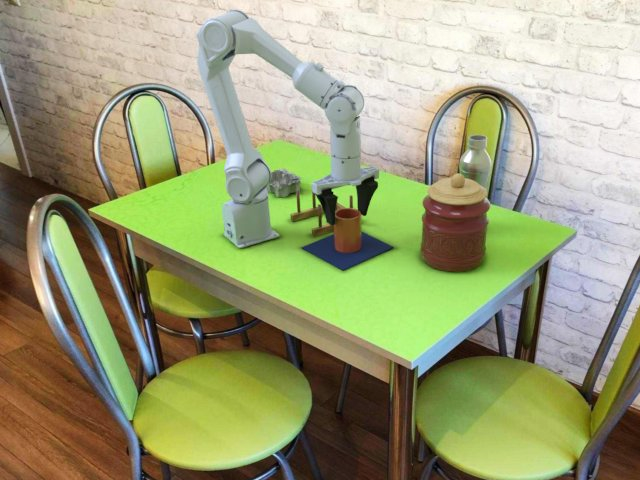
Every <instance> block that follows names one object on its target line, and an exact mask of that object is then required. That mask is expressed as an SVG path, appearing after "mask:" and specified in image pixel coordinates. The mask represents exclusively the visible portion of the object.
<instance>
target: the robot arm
mask: <svg viewBox="0 0 640 480" xmlns="http://www.w3.org/2000/svg"><path fill="white" fill-rule="evenodd" d="M196 39H197V41H198V42H197V43H198V51H197V63H196V64H197V69H198V72H199V75H200V78H201V81H202V83H203V87H204V90H205V93H206V96H207V99H208V102H209V105H210V108H211V111H212V114H213V117H214V120H215V124H216V126H217V129H218V132H219V134H220V138H221V141H222V144H223V147H224V150H225V154H226V159H225V164H224V167H223V172H224V175H225V190H226V192H227V194H228V196H229V197H230V200H228V201H225V202H224V203H222V205H221V214H222V215H221V216H222V222H223V230H224V232H223V236H224V237H226V238H227V239H228V240H229V241H230V242H231V243H233V245H235V246H236V247H237V248H239V249H243V248H247V247H249V246H254V245H256V244H260V243H262V242H267V241H270V240H273V239H277V238H279V237H280V234H279V233H278V232H276V231H275V230H274V229H273V228H272V225H271V213H270V203H269V192H268V189H267V185H268V184H269V183H270V181H271V177H272V174H271V172H272V170H271V167H270V166H269V164H268V163H267V162H266V161H265V159H264V157H263V154H262V152H261V151H260V150H258V149H257V148H256V147H254V144H253V142H252V139H251V136H250V134H249V133H250V132H249V129H248V126H247V123H246V119H245V117H244V113H243V110H242V107H241V104H240V100H239V98H238V97H239V96H238V94H237V90H236V88H235V85H234V81H233V78H232V74H231V72H230V65H231V64H232V62H233V61H234V58H235V57H236V55H256V56H258V57H259V58H261V59H262V60H264V61H265V62H267V63H269V64H270V65H272V66H273V67H274V68H276V69H277V70H279V71H280V72H282V73H283V74H285V75H286V76H288V77H290V78H291V80H292V83H293V87H294V89H295V90H297V92H299V93H300V94H302V95H303V96H305V97H306V98H307V99H309V100H310V101H311V102H312V103H314V104H315V105H317V106H318V107H319V108H320V109H322V110H323V111H324V114H325V117H326V120H328V122H329V125H330V127H329V129H330V130H329V132H330V133H329V135H330V139H329V141H330V173H329V174H327V175H326V176H324V177H322V178H319V179H317V180H315V181H312V182H311V193H312V192H314V193H315V197H316V199H317V200H318V202H319V204H320V205H321V206H322V208H323V211H324V213H323V214H324V217H325V221H326V223H327V224H330V225H331V226H333V225H335V221H336V219H335V209H336V203H338V199H339V196H337V195H336V194H334V191H333V190H335V189H339V188H342V187H347V186H352V187H355V189H356V197H357V199H356V201H357V210H359V211H360V212H361V216H362V217H366V216H367V214H368V210H369V207H370V204H371V201H372V199H373V196H374V194H375V193H376V191H377V189H378V188H379V182H378V181H377V179H380V169H379V168H378V167H376V166H372V165H371V166H368V167H362V158H361V157H362V156H361V155H362V139H361V137H362V135H361V133H362V131H361V116H360V114H361V113H362V111H363V110H364V107H365V98H364V94H362V92H361V91H360V89H358V88H357V87H356V85H353V84H346V83H345V82H344V81H343V80H338V79H337V78H335V77H334V76H333V75H331V74H330V73H328V72H327V71H326V70H324V68H325V65H323V64H322V63H321V62H317V63H315V62H314V61H313V60H311V61H306V62H303V61H302V60H300V59H299V58H298V57H297V56H296V55H295V54H294V53H292V52H291V51H290V50H289V49H287V47H285V46H284V45H283V44H281V42H280V41H278V40H277V39H275V38H274V37H273V36H272V35H271V34H269V33H268V32H267V31H266V30H265V29H264V28H263V26H261V24H260V23H259V22H258V21H257V20H256V19H255V18H253V17H250V16H249V15H248V14H247V13H246V12H244V11H242V10H241V9H230V10H229V11H226V13H223V14H220V15H217V16H215V17H210V18H208V19H206V20H204V22H203V24H202V25H201V27H200V29H198V32H197V33H196Z"/></svg>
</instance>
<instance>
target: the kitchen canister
mask: <svg viewBox="0 0 640 480" xmlns="http://www.w3.org/2000/svg"><path fill="white" fill-rule="evenodd" d="M486 189H487V188H486ZM486 189H485V188H484V187H482V186H481V185H479V184H478V183H477V182H475V181H473V180H470V179H466V178H464V176H463V175H462V174H460V173H454V174H453V175H452V176H451V177H446V178H442V179H439V180H437V181H436V182H433V184H431V185H429V187H428V188H427V191H426V192H427V195H425V197H424V198H422V207H423V209H424V212H423V213H422V215H421V222H422V224H421V225H422V226H421V243H420V254H421V255H420V256H421V258H422V261H423V262H424V263H426V264H427V265H428V266H430V267H431V268H434V269H436V270H440V271H445V272H466V271H470V270H473V269H475V268H477V267H479V266H481V264H483V262H484V259H485V257H486V253H487V252H486V251H487V246H486V245H487V244H486V243H487V234H488V226H489V223H490V219H489V217H488V212H489V211H490V209H491V201H490V200H489V199H488V198H487V197H488V191H487V190H486Z"/></svg>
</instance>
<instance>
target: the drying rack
mask: <svg viewBox="0 0 640 480" xmlns="http://www.w3.org/2000/svg"><path fill="white" fill-rule="evenodd" d="M295 194H296V196H295V197H296V212H294V213H290V215H289V218H290V221H291V222H296V221H301V220H304V219H308V218H312V217H314V216H317V218H318V219H317V220H318V226H317V227H314V228H311V229H310V230H311V236H312V237H314V238H315V237H318V236H321V235H324V234H327V233H332V232H334V225H333V226H331V225H330V224H328V223H327V224H324V225H323V217H322V216H323V215H322V214H324V211H323V208H322V206H321V204H320V203H319V204H317V203H316V202H317V200H316V199H317V197H316V195H315V193H314V192H312V191H311V197H312V198H311V199H312V200H311V201H312V207H311V208H308V209H304V210H301V199H300V198H301V195H300V194H301V193H300V192H299V191H298V190H297V191H296V193H295ZM348 198H349V199H348V200H349V208H353V209H354V197H353V195H352V194H351V195H349V197H348ZM342 208H346V207H345V206H344V205H342V204H341V203H339V202H337V203H336V209H335V211H336V210H338V209H342Z"/></svg>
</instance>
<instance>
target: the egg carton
mask: <svg viewBox="0 0 640 480" xmlns="http://www.w3.org/2000/svg"><path fill="white" fill-rule="evenodd" d="M271 174H272V177H271V181H270V183H269V184H268V185H267V192H268V193H271V194H273V193H275V196H276V197H277V198H287V197H289V194H296V191H297V190H298V191H299V193H300V191H301V188H302V187H301V186H302V185H301V180H302V179H303V176H301V177H300V176H298V175H296V174H295V173H293V172H291V171H288V169H287V168H279V169H274V171H271Z"/></svg>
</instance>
